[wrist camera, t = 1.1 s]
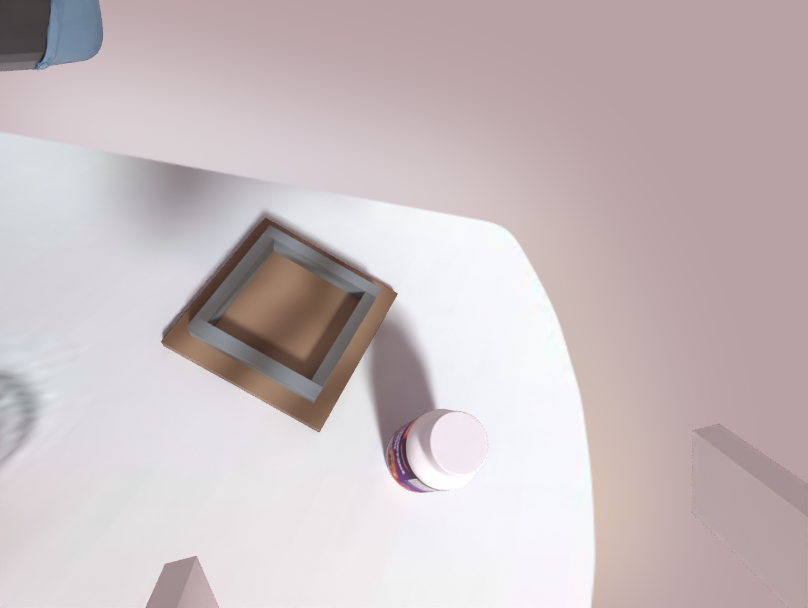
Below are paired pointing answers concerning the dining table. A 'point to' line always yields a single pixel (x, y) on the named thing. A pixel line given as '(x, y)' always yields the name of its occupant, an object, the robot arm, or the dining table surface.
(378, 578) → the dining table surface
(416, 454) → the pill bottle
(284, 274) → the trough board
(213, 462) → the dining table surface
